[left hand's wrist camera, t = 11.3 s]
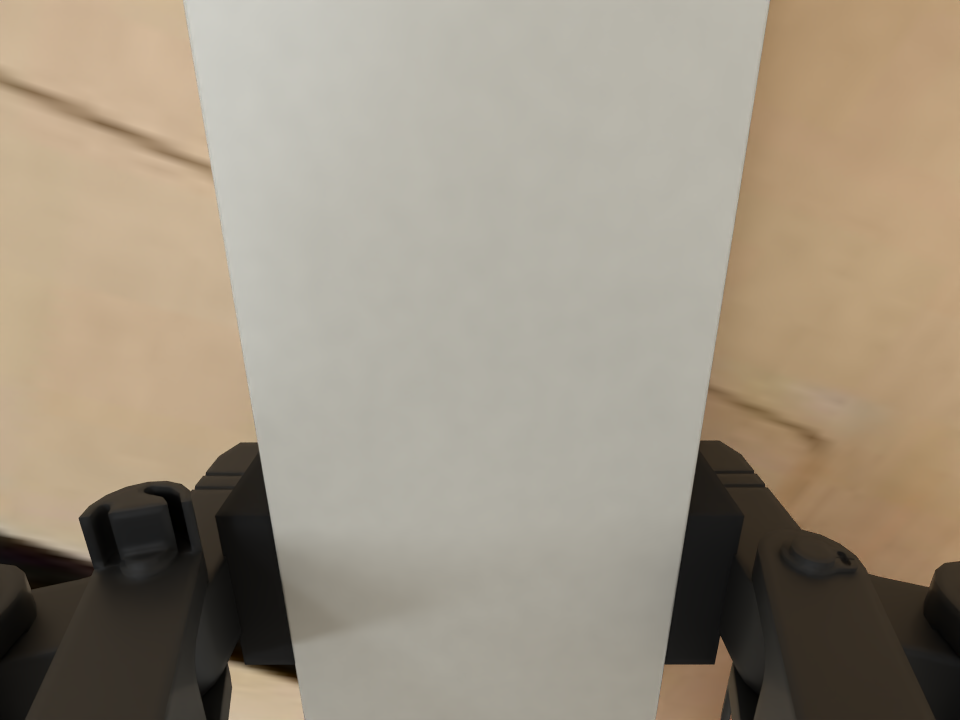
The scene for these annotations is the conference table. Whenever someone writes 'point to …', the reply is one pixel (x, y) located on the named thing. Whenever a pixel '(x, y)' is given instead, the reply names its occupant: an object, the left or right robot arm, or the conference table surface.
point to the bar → (478, 329)
